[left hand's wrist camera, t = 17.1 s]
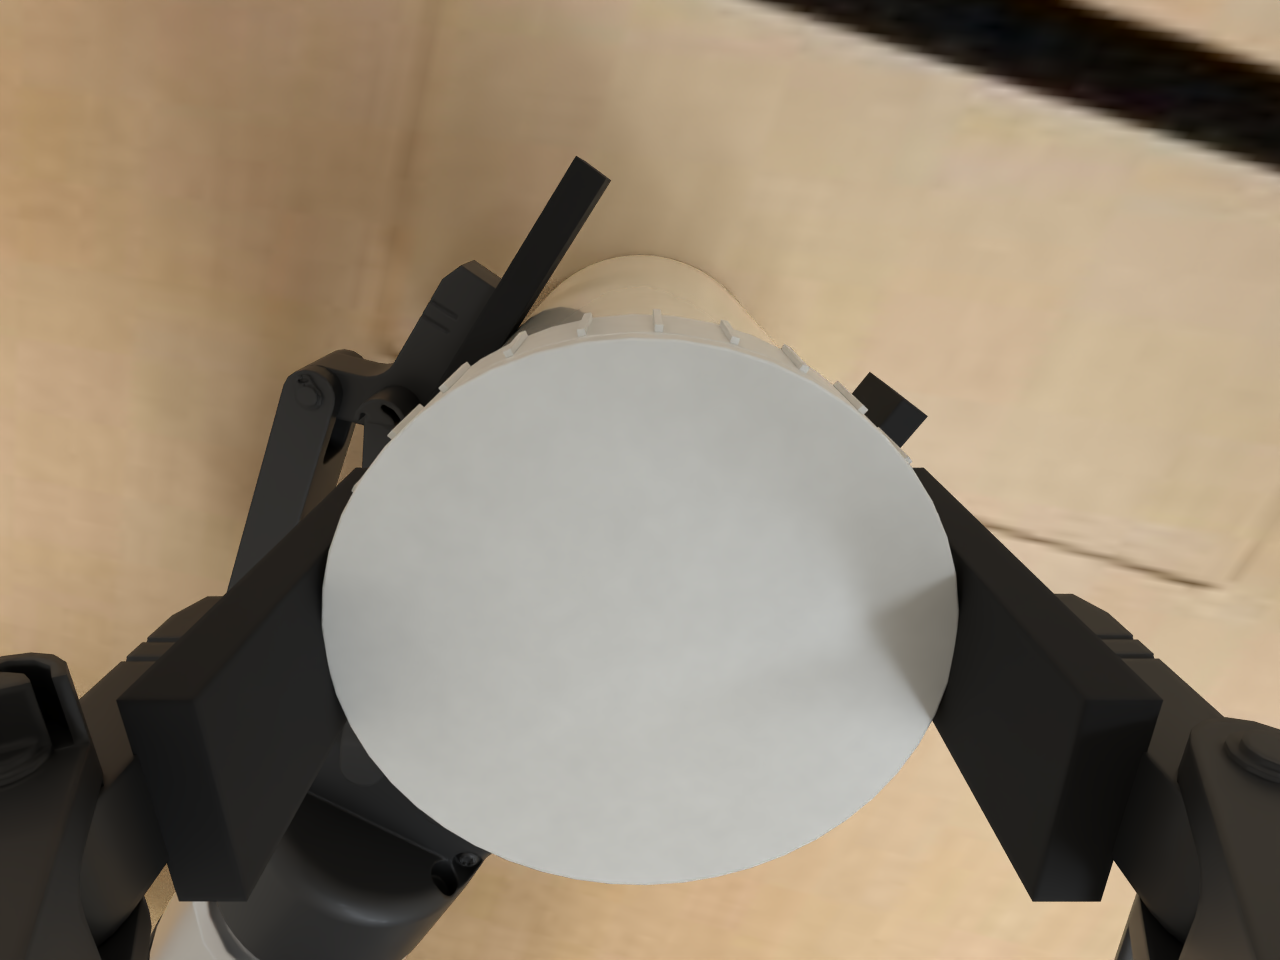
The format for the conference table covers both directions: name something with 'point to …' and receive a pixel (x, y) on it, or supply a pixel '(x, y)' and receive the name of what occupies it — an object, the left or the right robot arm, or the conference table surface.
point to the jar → (640, 295)
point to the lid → (640, 602)
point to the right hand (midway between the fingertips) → (753, 287)
